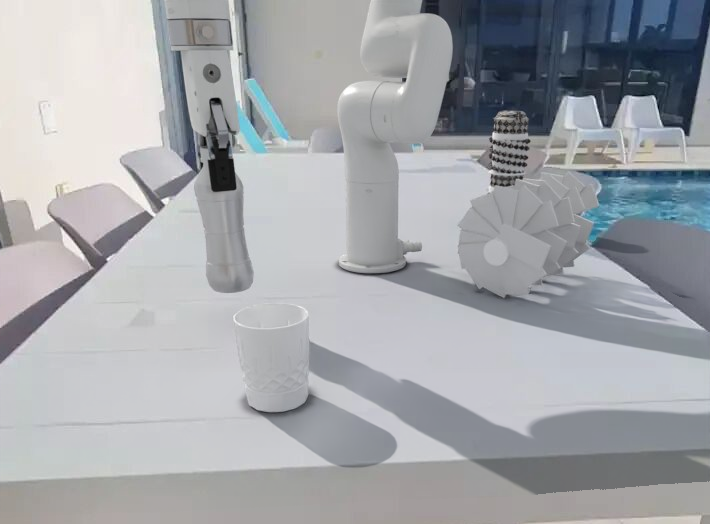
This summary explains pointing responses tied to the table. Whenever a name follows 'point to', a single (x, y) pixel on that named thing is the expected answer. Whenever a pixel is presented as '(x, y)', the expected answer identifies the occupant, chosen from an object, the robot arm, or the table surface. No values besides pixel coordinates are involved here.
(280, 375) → the white cup
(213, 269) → the plastic bottle
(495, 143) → the decorative candle
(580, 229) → the spiral staircase
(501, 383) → the table surface
